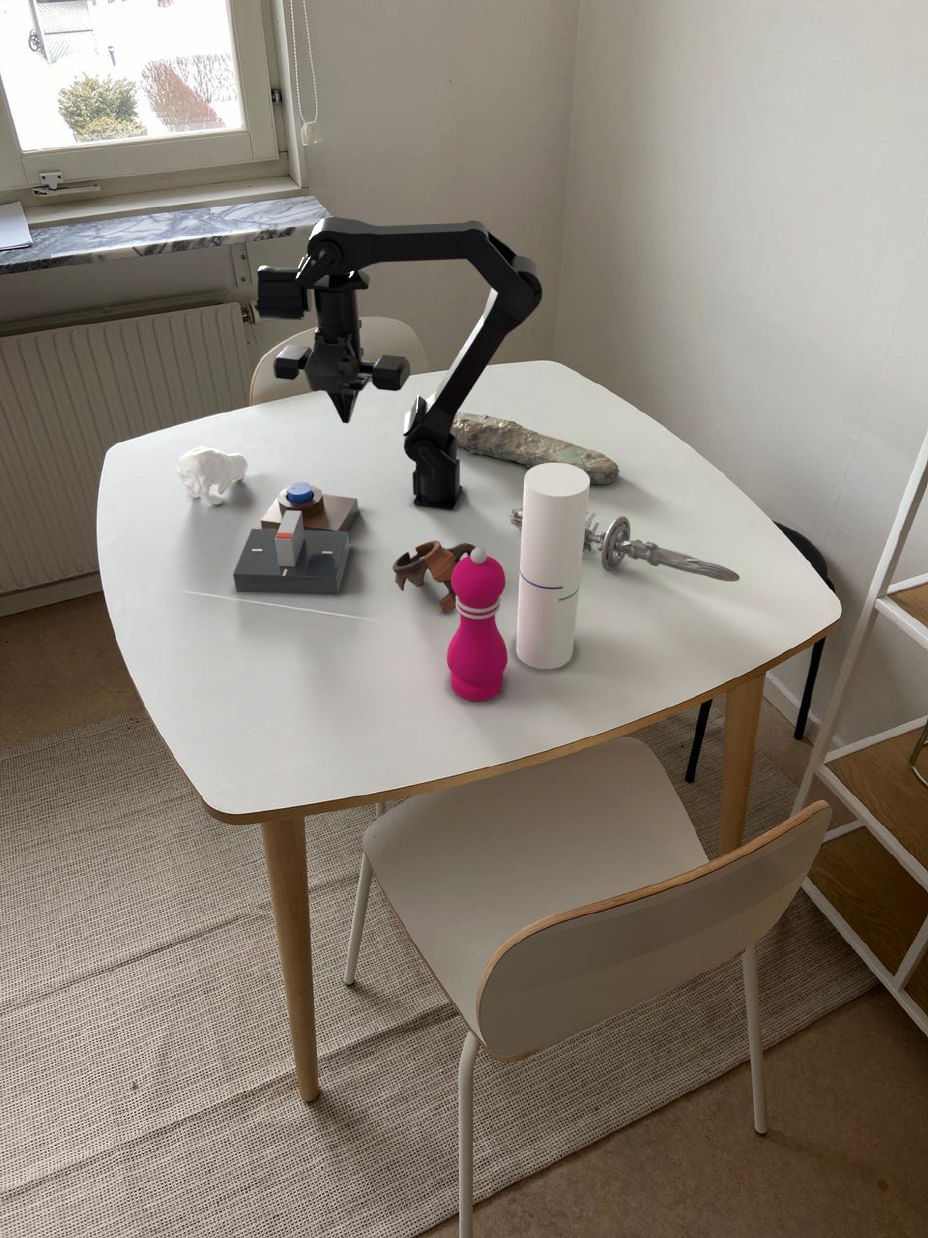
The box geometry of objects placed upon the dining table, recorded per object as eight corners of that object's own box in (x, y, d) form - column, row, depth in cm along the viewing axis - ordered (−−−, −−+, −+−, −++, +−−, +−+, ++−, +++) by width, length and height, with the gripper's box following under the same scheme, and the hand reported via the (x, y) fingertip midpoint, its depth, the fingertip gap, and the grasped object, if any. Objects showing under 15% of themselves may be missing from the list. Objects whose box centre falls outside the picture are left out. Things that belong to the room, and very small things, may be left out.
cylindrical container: (512, 633, 119) (520, 463, 104) (567, 630, 120) (583, 461, 104) (520, 671, 114) (529, 497, 98) (577, 667, 114) (595, 494, 98)
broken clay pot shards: (430, 628, 121) (401, 576, 118) (404, 616, 129) (376, 567, 126) (502, 579, 124) (475, 526, 121) (472, 570, 132) (446, 521, 130)
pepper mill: (500, 709, 109) (506, 572, 96) (441, 700, 110) (438, 564, 97) (510, 668, 114) (517, 534, 102) (453, 660, 115) (453, 526, 103)
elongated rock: (600, 504, 146) (625, 479, 153) (606, 475, 142) (631, 450, 149) (415, 437, 158) (445, 417, 165) (416, 409, 155) (447, 389, 162)
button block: (358, 510, 142) (356, 488, 139) (339, 543, 135) (336, 520, 132) (285, 501, 144) (281, 478, 141) (262, 532, 137) (258, 509, 135)
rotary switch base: (350, 548, 134) (348, 529, 132) (337, 595, 125) (335, 577, 123) (254, 544, 135) (251, 526, 133) (235, 592, 126) (232, 573, 124)
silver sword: (725, 583, 115) (750, 535, 118) (491, 519, 132) (517, 478, 135) (729, 618, 121) (752, 571, 124) (505, 552, 139) (530, 513, 141)
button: (316, 493, 139) (314, 483, 138) (307, 506, 136) (306, 495, 135) (293, 490, 139) (292, 480, 138) (284, 503, 137) (283, 493, 136)
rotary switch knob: (289, 537, 131) (285, 508, 128) (305, 537, 131) (301, 509, 128) (278, 566, 126) (274, 537, 122) (294, 566, 125) (290, 538, 122)
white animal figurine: (169, 450, 138) (226, 425, 147) (176, 501, 143) (231, 474, 152) (199, 462, 136) (256, 436, 144) (205, 513, 140) (260, 485, 149)
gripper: (250, 335, 122) (266, 440, 132) (385, 348, 119) (391, 455, 129) (282, 304, 131) (294, 405, 140) (409, 316, 127) (413, 419, 137)
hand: (346, 422), depth 136 cm, fingers closed
